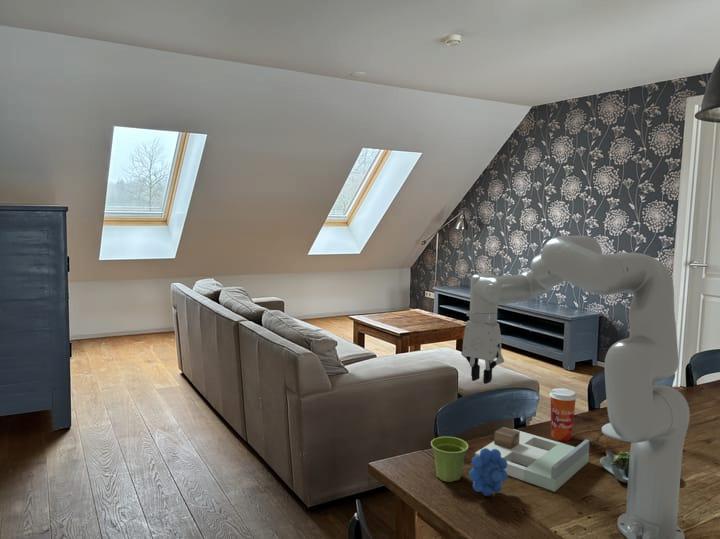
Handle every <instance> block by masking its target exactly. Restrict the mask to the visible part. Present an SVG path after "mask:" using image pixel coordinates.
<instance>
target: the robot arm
mask: <svg viewBox="0 0 720 539" xmlns="http://www.w3.org/2000/svg"><path fill="white" fill-rule="evenodd" d="M564 282H567V283H569V284H572V285H574V286H576V287H578V288H580V289H582V290H583V291H586V292H588V293H590V294H593V295H597V296H610V295H619V294H623V293H630V294H632V300H631V302H630V306H629V311H628V322H629V337H628V338H627V337H626V338H623V339H620V340H618V341H615V343H613V344H612V345H611V346H610V347H609V348H608V351H607V352H606V354H605V358H604V381H605V396H606V409H607V416H608V420H609V423H611V426H612V428H613V429H614V431H615V432H616V433H617V434H618V435H619V436H620V437H621V438H622V439H624V440H626V441H628V442H627V443H630V447H629V448H630V449H629V452H630V457H629V473H628V485H627V494H626V508H625V509H626V510H625V512H624V513H622V514H621V515H619V516H618V518H617V524H616V525H617V528H618V530H619V532H620V533H621V534H622V535H623V536H625V537H626V539H685V533H684V531H683V530H682V529H681V527H680V526H678V512H679V500H680V486H681V485H680V484H681V473H682V472H681V471H682V470H681V469H682V464H683V463H682V462H683V452H684V451H683V450H684V443H685V439H686V435H687V433H688V432H687V431H688V428H689V423H690V415H691V414H690V407H689V403H688V401H687V399H686V397H685V396H684V395H683V394H682V393H681V392H680V391H678V390H677V389H675V388H673V387H672V386H667V385H661V384H660V385H659V384H657V385H653V383H656V382H660V381H663V380H666V379H668V378H671V377H672V376H673V375H674V374H676V372H677V370H678V367H679V364H680V363H679V348H678V334H677V322H676V315H675V287H674V283H673V279H672V276H671V273H670V271H669V270H668V269H667V267H666V266H665V265H664V264H663V263H662V262H661V261H660V260H658V259H657V258H655V257H652V256H650V255H648V254H645V253H640V252H639V253H638V252H619V253H618V252H617V253H606V254H603V249H602V247H601V244H600V243H599V241H597V240H596V239H595V238H593V237H591V236H589V235H582V234H581V235H560V236H555V237H553V238H551V239H549V240H548V241H546V243H545V244H544V245H543V247H542V249H541V253H539V254H538V255H536V256H534V257H533V259H532V260H531V262H530V270H528V271H526V272H523V273H521V274H513V275H511V274H510V275H501V276H497V275H496V274H493V273H485V272H484V273H475V274H473V275H472V276H471V277H470V294H469V297H470V299H469V302H470V303H469V310H467V311H466V313H465V314H466V317H469V318H468V319H469V320H467V321H466V324H465V327H464V333H463V339H462V340H463V342H462V349H461V350H462V351H461V355H462V357H463V358H465V359H466V361H467V362H468V363H469V367H471V371H470V372H471V373H470V374H471V382H475V381H477V380H479V379H480V374H481V373H480V372H481V371H480V370H481V366H480V364H479V359H480V360H484V363H485V369H483V377H482V378H483V380H482V382H483V384H484V385H486V384H489V383H491V381H492V380H493V369H494V368H495V367H497V365H500V364H503V363H504V362H505V359H504V357H503V354H502V337H501V336H502V335H501V334H502V333H501V328H500V323H498V306H500V305H501V306H502V305H503V306H504V305H509V304H510V305H511V304H517V303H524V302H527V301H530V300H533V299H535V298H538V297H541V296H542V295H545V294H547V293H549V292H550V291H551V290H552V289H553V288H554V287H555V286H557V285H560V284H562V283H564Z"/></svg>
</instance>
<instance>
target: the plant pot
mask: <svg viewBox="0 0 720 539" xmlns="http://www.w3.org/2000/svg"><path fill="white" fill-rule="evenodd" d="M430 446H431V448H432V452H433V454H434V456H433V457H434V464H435V475H436V477H437V478H438V479H439V480H440V481H443V482H448V483H453V482H455V481H459V480H461V478H462V472H463V471H462V470H463V466H464V460H465V455H466V453H467V451H468V450H469V444H468V442H467V441H465V440H464V439H461V438H458V437H454V436H439V437H436V438H433V439H432V440H431V441H430Z"/></svg>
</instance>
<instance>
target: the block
mask: <svg viewBox="0 0 720 539" xmlns="http://www.w3.org/2000/svg"><path fill="white" fill-rule="evenodd" d="M513 429H514V428H513ZM513 429H512V428H509V427H506V426H503V427H501V428H499V429H497V430H495V431H494V437H493V439H494V440H493V441H494V444H495V445H499V446H502V447H505V448H508V449H512V448H514V447H515V446H517V445H518V444H519V437H520V432H519V431H520V430H518V431H516V430H517V429H515V430H513Z"/></svg>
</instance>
